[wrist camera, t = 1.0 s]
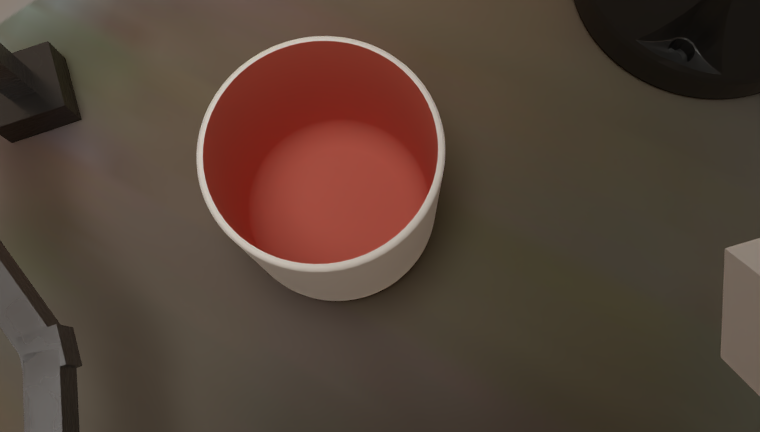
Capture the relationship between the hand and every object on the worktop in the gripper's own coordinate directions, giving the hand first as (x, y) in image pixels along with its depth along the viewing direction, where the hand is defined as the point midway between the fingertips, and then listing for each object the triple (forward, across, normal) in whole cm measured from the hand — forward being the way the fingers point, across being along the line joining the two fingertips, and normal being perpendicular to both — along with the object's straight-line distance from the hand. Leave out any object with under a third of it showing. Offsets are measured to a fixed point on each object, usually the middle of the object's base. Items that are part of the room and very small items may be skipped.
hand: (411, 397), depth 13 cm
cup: (+24, 0, -8) cm, 25 cm away
